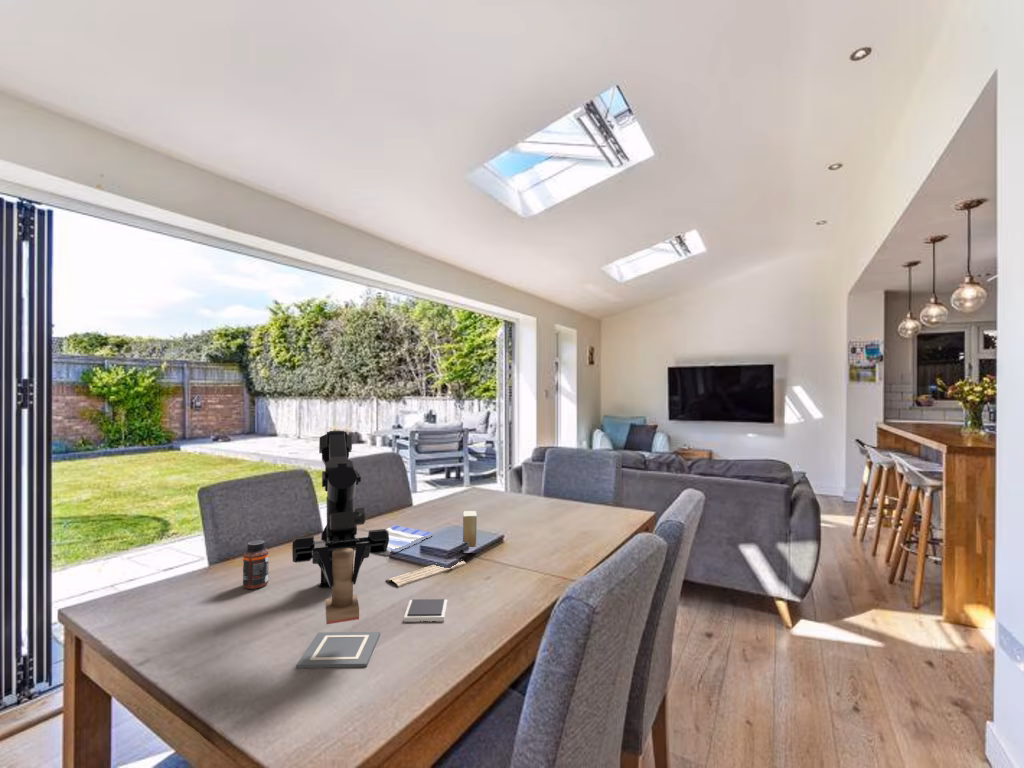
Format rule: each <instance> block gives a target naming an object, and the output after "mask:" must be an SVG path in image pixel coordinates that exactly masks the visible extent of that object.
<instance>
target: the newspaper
mask: <svg viewBox="0 0 1024 768" xmlns="http://www.w3.org/2000/svg"><path fill="white" fill-rule="evenodd" d="M466 564H467V563H466V562H465V561H464V560H463V561H461V562H458V563H457V564H456V565H454V566H452V567H451V568H444V567H440V566H436V565H434V564H431V565H428V566H425V567H422V568H419V569H416V570H413V571H409V572H407V573H406V572H405V573H402V574H400V575H397V576H394V577H391V578H390V577H389V578H388V579H385V582H391V580H392V582H394V583H395V584H396V586H397V588H398V587H399V588H401V586H402V587H404V586H408V585H410V583H411V584H413V583H416V582H419V581H422V580H425V579H429V578H431V577H433V576H434V577H435V576H437V575H440V574H443V573H445V572H449V571H451V570H450V569H452V570H454V569H457V568H460V567H464V566H465V565H466ZM407 584H408V585H407Z"/></svg>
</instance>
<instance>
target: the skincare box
mask: <svg viewBox="0 0 1024 768" xmlns="http://www.w3.org/2000/svg"><path fill="white" fill-rule="evenodd" d="M477 516H478V514H477V510H464V511H463V513H462V543H463V542H465V543H467V546H468V547H476V548H477V522H478V520H477V519H478V518H477Z"/></svg>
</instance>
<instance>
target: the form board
mask: <svg viewBox="0 0 1024 768" xmlns="http://www.w3.org/2000/svg"><path fill="white" fill-rule="evenodd" d="M380 636H381V631H337V632H336V631H335V632H333V631H331V632H328V631H327V632H325V631H323V632H317V633H316V635H315V636H314V638H313V639H312V641H311V642H310V644H309V645H308V647H307V648H306V649H305V650H304V653H303V654H302V655H301V657H300V658H299V660H298V661H297V663H296V664H295V668H296V669H300V668H301V669H308V668H309V669H310V668H313V669H317V668H361V667H362V668H364V667H365V668H367V666H368V664H369V662H370V660H371V658H372V656H373V653H374V650H375V648H376V646H377V643H378V641H379V639H380Z"/></svg>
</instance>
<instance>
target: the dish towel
mask: <svg viewBox="0 0 1024 768" xmlns="http://www.w3.org/2000/svg"><path fill="white" fill-rule="evenodd" d="M385 529H386V530H387V531H388V533H389V542H388V547H387V551H386V552H384V553H380V554H381V555H383V554H384V555H383V556H387V555H389V553H390V552H391V550H393V549H395V548H399V547H402V546H405V545H407V544H409V543H411V542H412V541H414V540H416V539H419V538H421V537H424V536H427V535H429V534H431V533H432V532H429V531H428V530H427V531H426V530H421V529H419V528H418V529H416V528H411V527H406V526H400V525H396V524H395V525H392V526H390V527H388V528H385ZM366 537H368V535H367V536H366ZM354 550H356V548H354ZM380 554H379V555H380Z"/></svg>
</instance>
